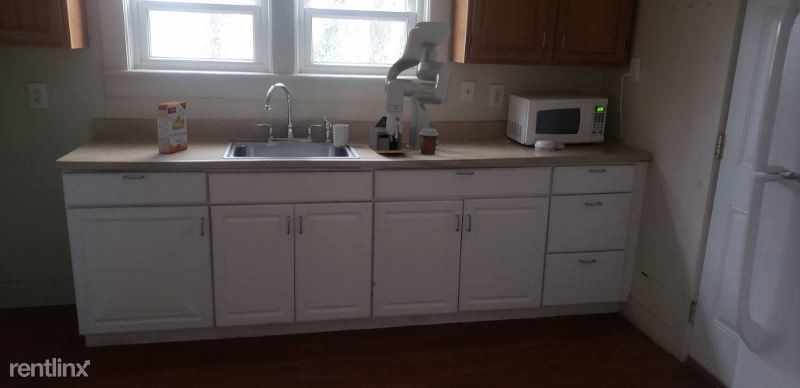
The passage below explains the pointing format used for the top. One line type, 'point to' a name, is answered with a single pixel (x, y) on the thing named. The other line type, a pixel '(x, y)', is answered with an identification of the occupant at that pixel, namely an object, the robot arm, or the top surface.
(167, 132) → the cracker box
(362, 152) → the top surface
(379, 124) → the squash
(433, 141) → the coffee cup
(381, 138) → the case
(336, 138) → the white cup
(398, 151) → the side door
